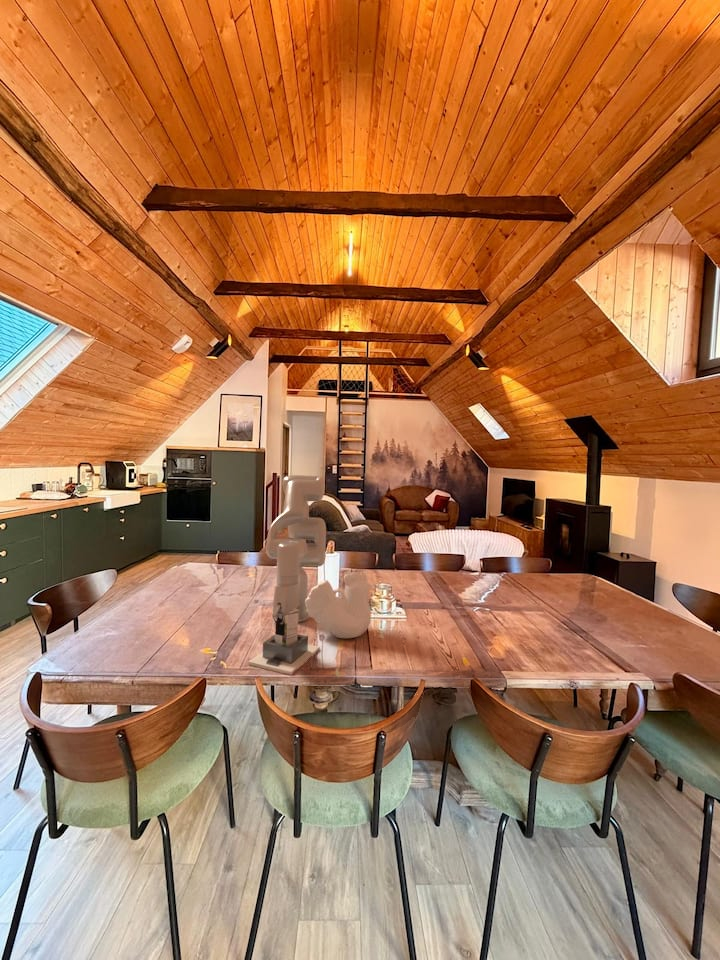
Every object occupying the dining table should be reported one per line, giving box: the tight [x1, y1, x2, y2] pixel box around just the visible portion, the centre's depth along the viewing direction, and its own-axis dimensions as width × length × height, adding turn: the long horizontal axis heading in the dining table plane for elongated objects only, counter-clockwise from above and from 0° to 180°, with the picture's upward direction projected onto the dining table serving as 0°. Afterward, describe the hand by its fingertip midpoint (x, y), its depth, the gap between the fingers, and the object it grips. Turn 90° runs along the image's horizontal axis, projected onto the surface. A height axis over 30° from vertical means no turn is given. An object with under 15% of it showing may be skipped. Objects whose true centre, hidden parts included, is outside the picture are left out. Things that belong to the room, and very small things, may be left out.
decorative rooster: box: [305, 571, 373, 639], centre depth 170 cm, size 25×16×25 cm, turn 81°
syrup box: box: [274, 608, 299, 646], centre depth 149 cm, size 6×6×14 cm
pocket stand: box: [247, 634, 321, 676], centre depth 149 cm, size 20×16×6 cm
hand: (286, 630), depth 149 cm, fingers closed on syrup box, 7 cm apart
